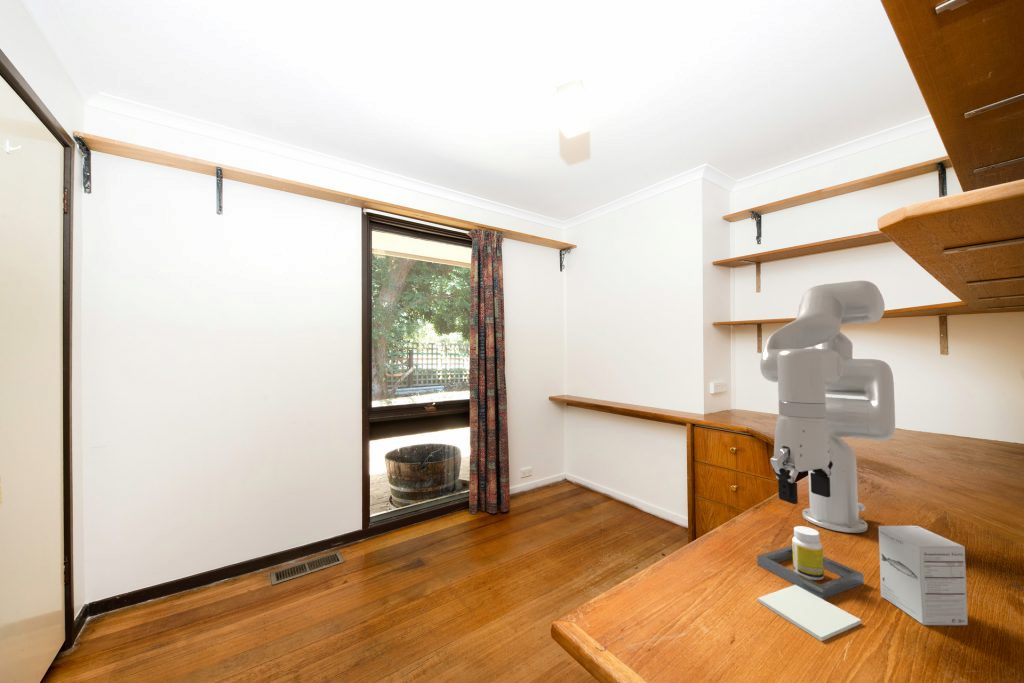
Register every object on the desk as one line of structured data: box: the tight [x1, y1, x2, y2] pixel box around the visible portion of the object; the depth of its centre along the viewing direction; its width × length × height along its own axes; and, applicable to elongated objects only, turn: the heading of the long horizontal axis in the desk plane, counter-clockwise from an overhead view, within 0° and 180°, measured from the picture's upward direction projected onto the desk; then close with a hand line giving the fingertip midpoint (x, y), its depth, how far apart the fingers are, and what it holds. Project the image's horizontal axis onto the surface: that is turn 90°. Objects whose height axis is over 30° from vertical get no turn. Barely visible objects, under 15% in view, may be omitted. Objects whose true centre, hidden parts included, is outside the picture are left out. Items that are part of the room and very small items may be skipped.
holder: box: [756, 545, 865, 600], centre depth 75 cm, size 12×12×2 cm
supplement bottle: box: [791, 525, 825, 581], centre depth 75 cm, size 5×5×8 cm
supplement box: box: [878, 525, 969, 626], centre depth 64 cm, size 7×7×13 cm
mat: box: [757, 584, 862, 642], centre depth 64 cm, size 10×10×1 cm
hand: (804, 498), depth 75 cm, fingers open, 9 cm apart
